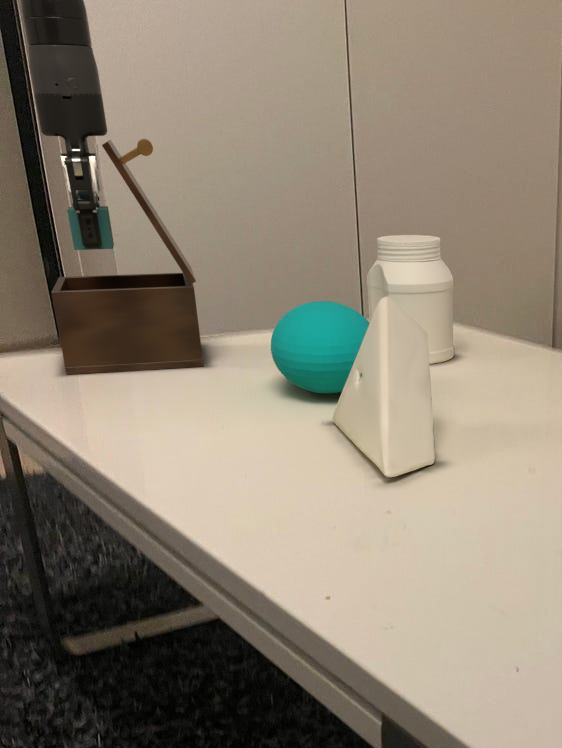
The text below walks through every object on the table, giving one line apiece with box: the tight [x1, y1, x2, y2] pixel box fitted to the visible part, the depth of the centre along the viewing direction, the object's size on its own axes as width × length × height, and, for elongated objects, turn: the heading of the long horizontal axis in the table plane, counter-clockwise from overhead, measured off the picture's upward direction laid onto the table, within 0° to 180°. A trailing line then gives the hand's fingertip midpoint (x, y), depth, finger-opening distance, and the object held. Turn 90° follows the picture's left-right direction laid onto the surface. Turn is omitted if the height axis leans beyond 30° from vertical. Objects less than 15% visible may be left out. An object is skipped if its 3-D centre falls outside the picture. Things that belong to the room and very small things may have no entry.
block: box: [66, 205, 115, 251], centre depth 124 cm, size 5×5×5 cm
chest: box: [50, 272, 205, 376], centre depth 130 cm, size 17×14×10 cm
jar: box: [366, 234, 455, 365], centre depth 132 cm, size 12×10×15 cm
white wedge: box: [332, 297, 436, 478], centre depth 95 cm, size 15×6×20 cm
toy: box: [270, 300, 370, 395], centre depth 116 cm, size 18×13×10 cm
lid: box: [101, 138, 197, 285], centre depth 125 cm, size 18×14×5 cm
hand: (93, 244), depth 125 cm, fingers closed on block, 4 cm apart
